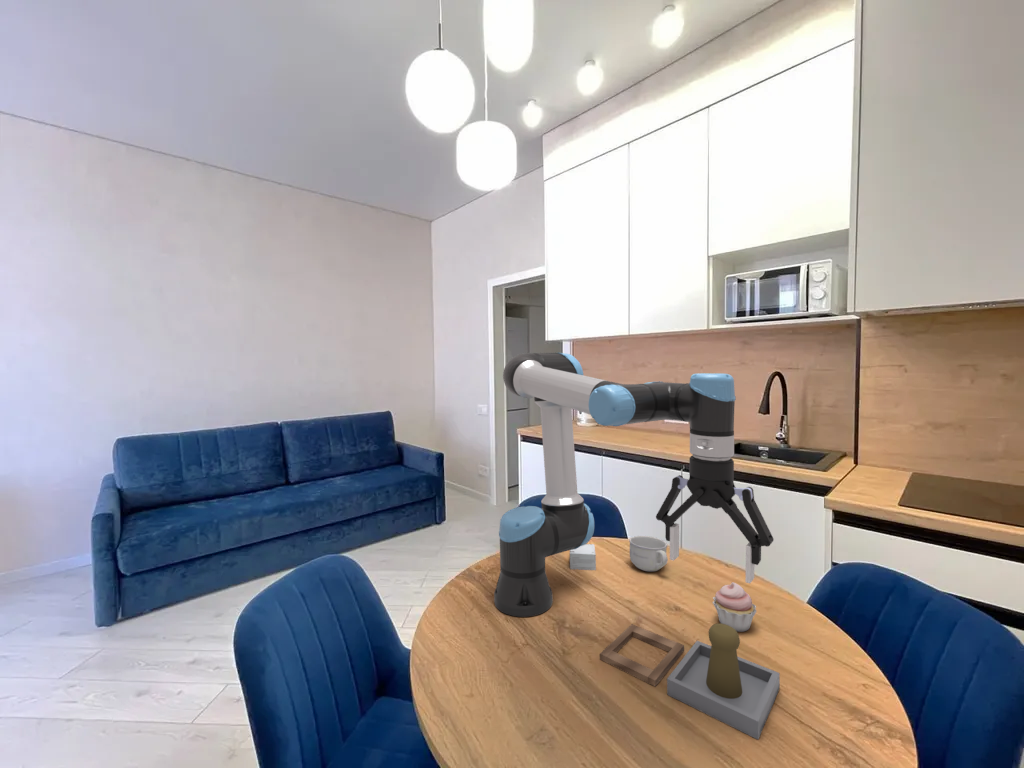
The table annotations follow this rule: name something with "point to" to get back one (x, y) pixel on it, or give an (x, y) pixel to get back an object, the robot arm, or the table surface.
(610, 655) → the socket block
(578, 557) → the small box
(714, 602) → the cupcake
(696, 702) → the tray
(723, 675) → the olive bulb peg
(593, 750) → the table surface
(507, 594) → the robot arm
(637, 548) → the teacup
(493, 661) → the table surface
